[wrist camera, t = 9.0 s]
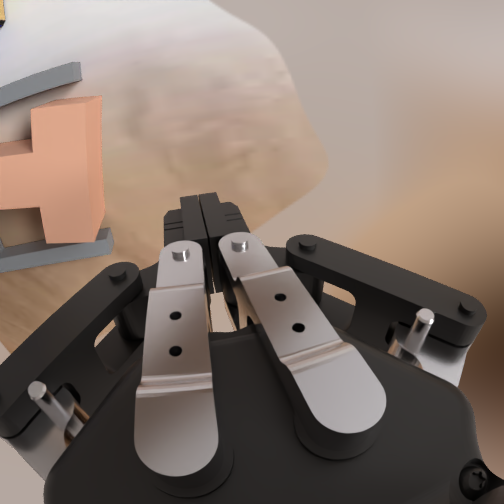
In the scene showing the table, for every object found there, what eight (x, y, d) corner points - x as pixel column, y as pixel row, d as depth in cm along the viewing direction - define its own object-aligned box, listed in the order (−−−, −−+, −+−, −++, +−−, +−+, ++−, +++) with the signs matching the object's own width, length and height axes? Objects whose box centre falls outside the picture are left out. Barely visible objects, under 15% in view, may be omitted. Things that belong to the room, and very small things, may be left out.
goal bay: (-1, 262, 25) (-8, 274, 23) (-47, 111, 16) (-59, 116, 14) (113, 242, 27) (110, 254, 26) (80, 62, 18) (72, 62, 17)
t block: (8, 217, 23) (-14, 245, 19) (-5, 109, 18) (-36, 122, 14) (105, 212, 26) (94, 242, 21) (102, 95, 20) (85, 102, 16)
